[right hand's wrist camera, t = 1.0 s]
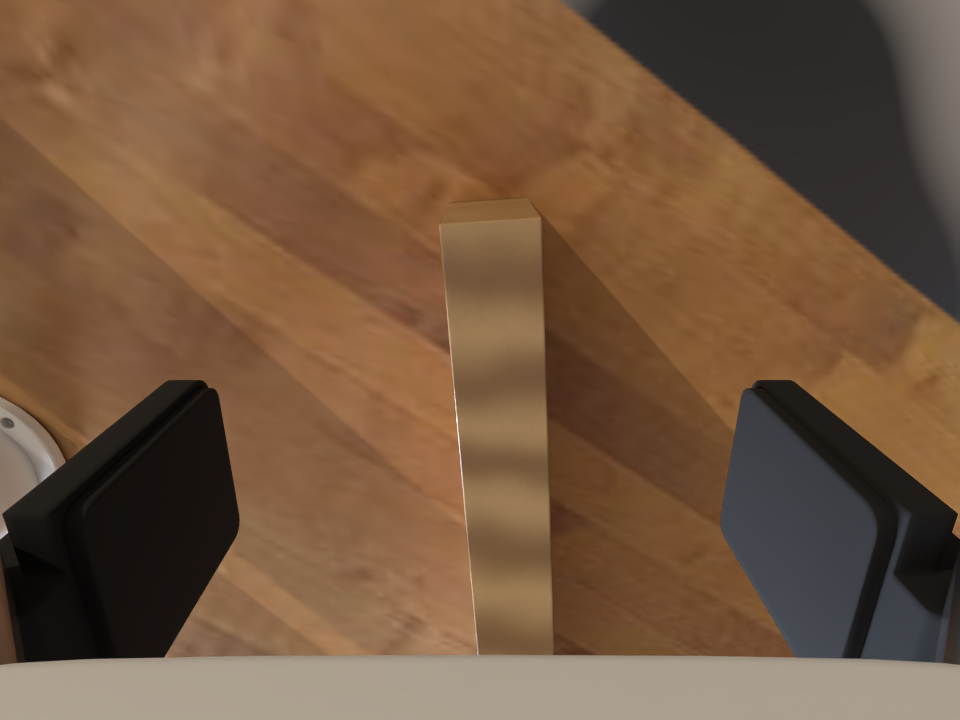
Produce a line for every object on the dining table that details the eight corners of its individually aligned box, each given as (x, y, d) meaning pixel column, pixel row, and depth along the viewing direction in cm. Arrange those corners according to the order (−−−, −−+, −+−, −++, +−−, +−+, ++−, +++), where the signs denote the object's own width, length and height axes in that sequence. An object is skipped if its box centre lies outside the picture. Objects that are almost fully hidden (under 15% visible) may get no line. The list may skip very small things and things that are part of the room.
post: (448, 202, 36) (438, 224, 28) (527, 197, 36) (541, 217, 28) (501, 844, 58) (504, 962, 50) (551, 842, 58) (563, 960, 49)
